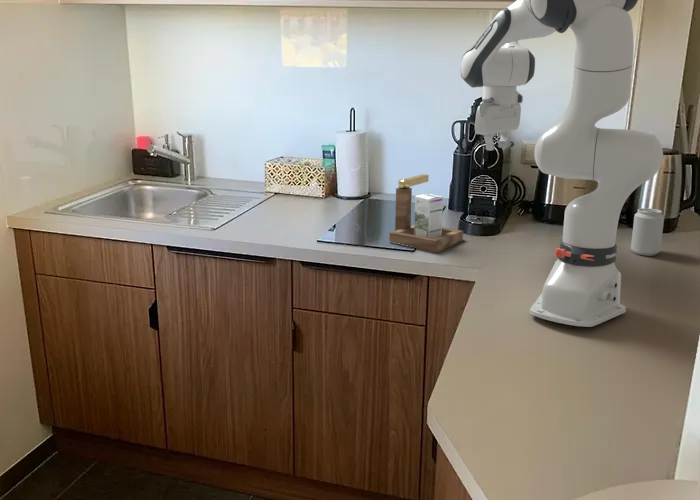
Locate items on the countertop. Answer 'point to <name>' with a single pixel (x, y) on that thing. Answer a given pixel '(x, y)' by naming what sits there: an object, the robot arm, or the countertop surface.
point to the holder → (406, 231)
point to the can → (647, 231)
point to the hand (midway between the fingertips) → (496, 148)
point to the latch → (412, 181)
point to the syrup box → (428, 215)
